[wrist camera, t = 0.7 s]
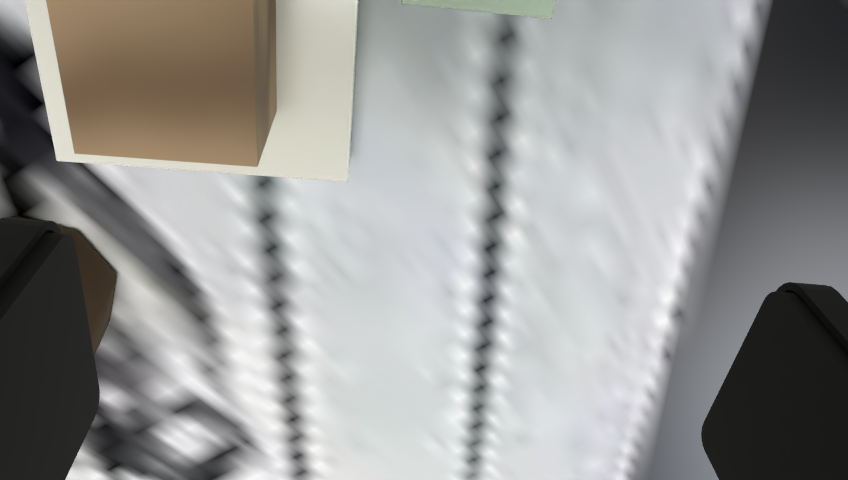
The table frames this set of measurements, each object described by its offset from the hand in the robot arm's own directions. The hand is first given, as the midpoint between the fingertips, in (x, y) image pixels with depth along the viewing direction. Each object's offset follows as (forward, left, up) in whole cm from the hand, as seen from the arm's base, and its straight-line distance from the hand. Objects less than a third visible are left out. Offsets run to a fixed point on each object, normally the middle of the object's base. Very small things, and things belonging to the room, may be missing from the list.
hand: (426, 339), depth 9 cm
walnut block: (+2, -8, -19) cm, 21 cm away
